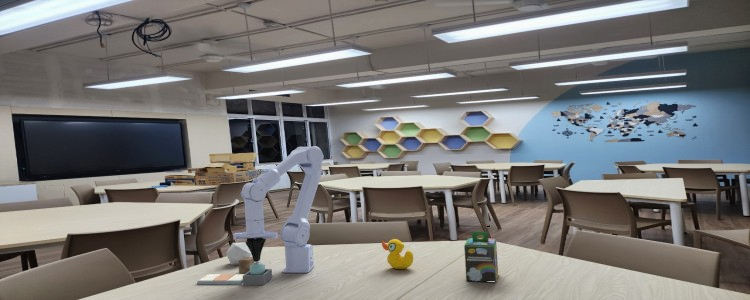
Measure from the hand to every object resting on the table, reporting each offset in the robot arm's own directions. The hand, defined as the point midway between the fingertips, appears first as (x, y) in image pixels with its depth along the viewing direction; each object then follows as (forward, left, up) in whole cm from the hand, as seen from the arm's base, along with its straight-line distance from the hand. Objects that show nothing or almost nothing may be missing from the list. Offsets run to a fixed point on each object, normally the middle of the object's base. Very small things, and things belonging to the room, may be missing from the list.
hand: (256, 260), depth 142 cm
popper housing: (0, 0, -7) cm, 7 cm away
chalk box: (-72, -4, -7) cm, 72 cm away
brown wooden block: (+8, -10, -7) cm, 14 cm away
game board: (+12, -1, -7) cm, 14 cm away
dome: (0, 0, -5) cm, 5 cm away
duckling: (-45, -14, -7) cm, 47 cm away
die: (+16, -21, -7) cm, 27 cm away
